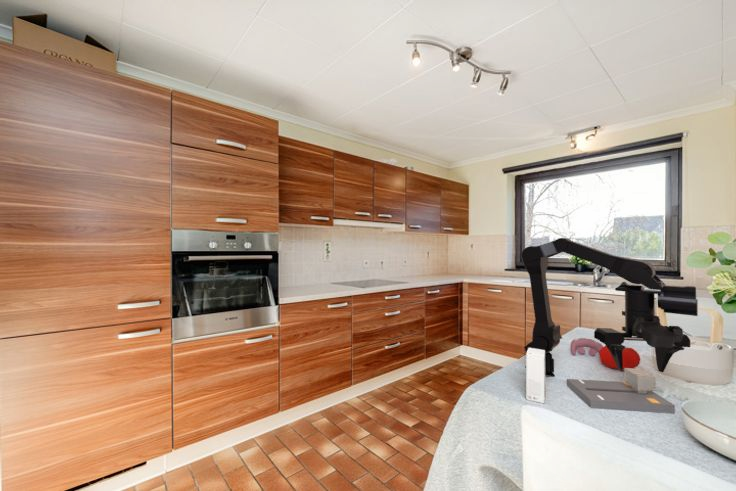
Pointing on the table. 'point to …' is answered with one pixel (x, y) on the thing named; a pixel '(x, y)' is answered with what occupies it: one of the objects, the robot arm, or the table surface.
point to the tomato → (629, 358)
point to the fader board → (618, 396)
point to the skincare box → (535, 375)
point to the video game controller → (583, 342)
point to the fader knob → (640, 380)
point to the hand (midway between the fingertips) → (640, 370)
